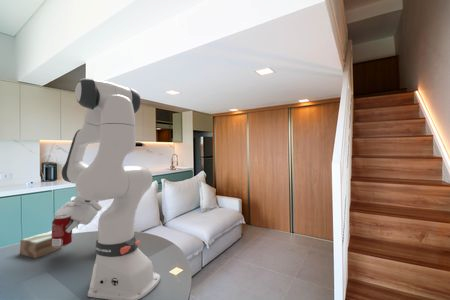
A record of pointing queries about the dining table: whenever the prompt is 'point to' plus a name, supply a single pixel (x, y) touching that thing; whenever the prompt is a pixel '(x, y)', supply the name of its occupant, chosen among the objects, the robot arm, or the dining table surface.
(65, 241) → the soda can
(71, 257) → the dining table surface
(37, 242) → the walnut pedestal
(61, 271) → the dining table surface
